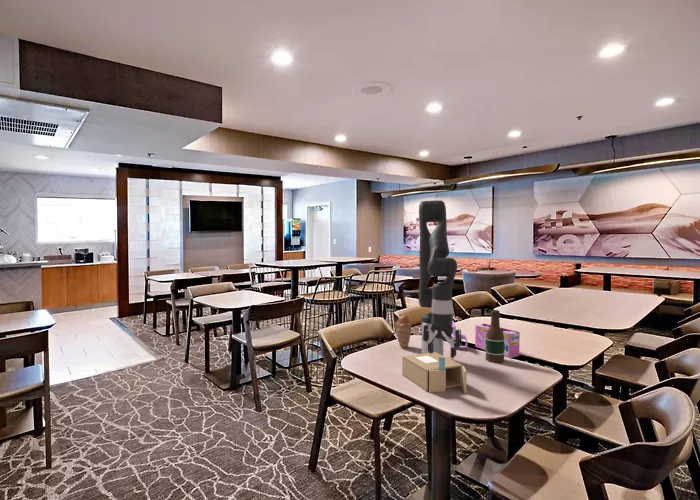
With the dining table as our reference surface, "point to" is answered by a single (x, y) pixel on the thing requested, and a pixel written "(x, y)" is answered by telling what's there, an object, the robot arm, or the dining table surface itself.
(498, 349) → the beer bottle
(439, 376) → the flap
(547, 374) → the dining table surface
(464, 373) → the flap
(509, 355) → the gum box
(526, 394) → the dining table surface
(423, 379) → the carton
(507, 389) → the dining table surface
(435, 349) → the robot arm
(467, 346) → the chair
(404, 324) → the brown ridged tapered piece
